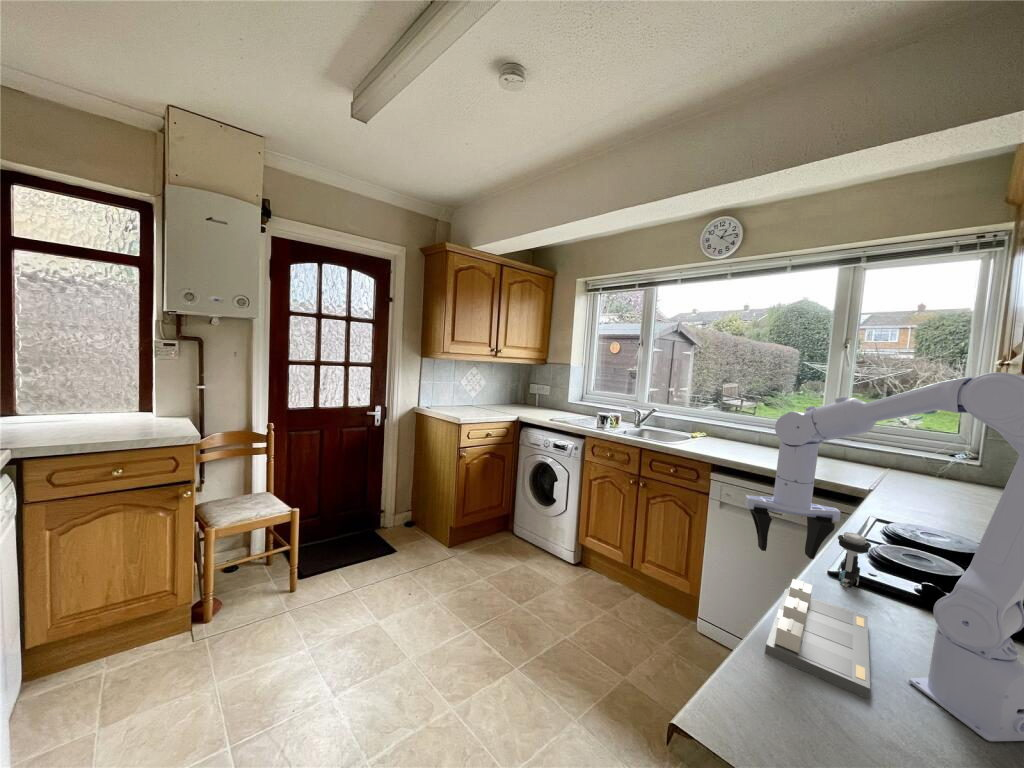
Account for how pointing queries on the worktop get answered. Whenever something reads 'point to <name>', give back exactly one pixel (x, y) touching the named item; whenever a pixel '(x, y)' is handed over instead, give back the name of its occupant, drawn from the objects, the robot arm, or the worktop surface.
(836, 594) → the worktop surface
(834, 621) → the switch plate
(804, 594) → the far tab
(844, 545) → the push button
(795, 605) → the middle tab
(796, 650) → the near tab
